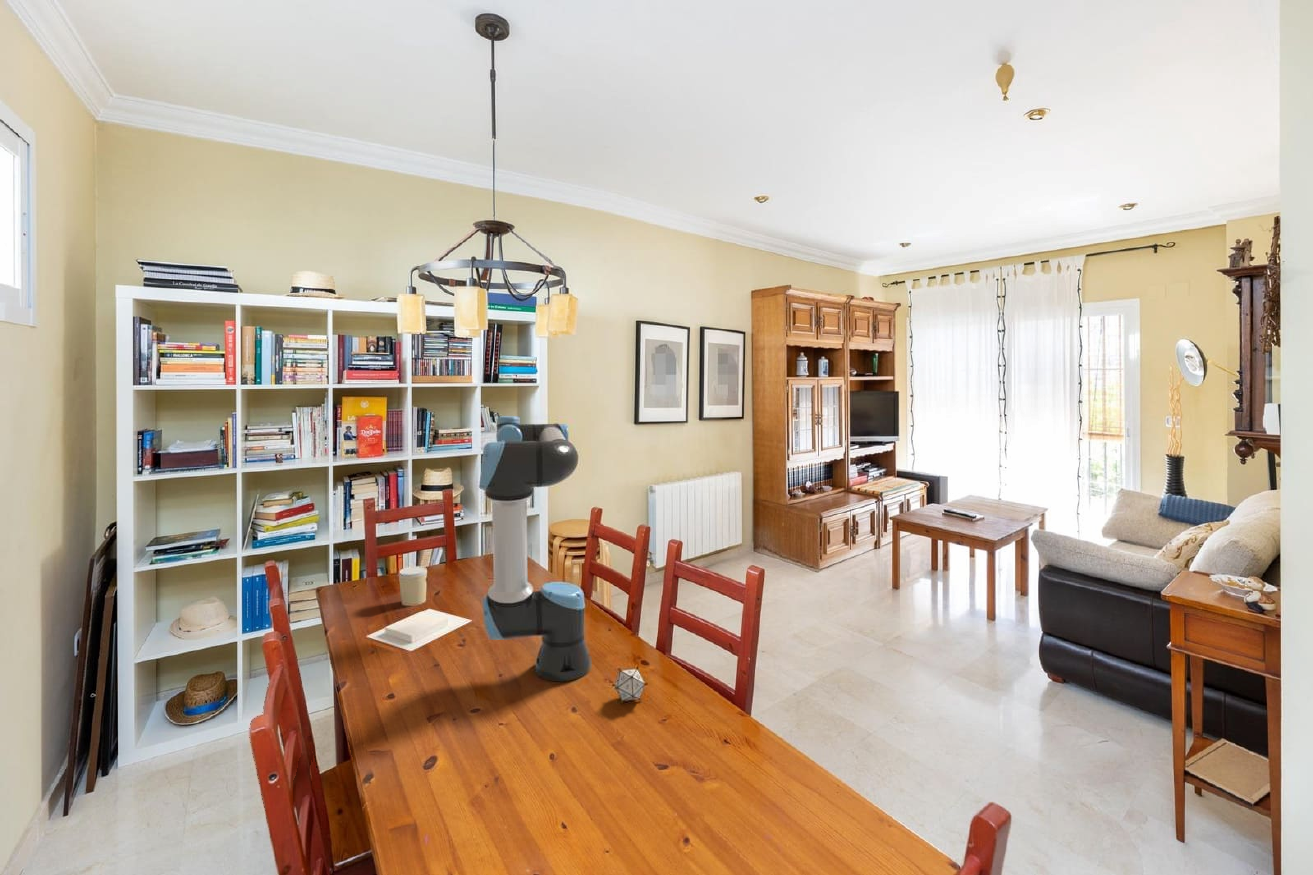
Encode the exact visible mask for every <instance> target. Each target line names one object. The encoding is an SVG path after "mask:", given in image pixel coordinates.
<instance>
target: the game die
mask: <svg viewBox="0 0 1313 875" xmlns="http://www.w3.org/2000/svg"><path fill="white" fill-rule="evenodd" d="M636 666H637V667H636V668H630V669H629V668H628V669H621V668H620V667H618V668H617V669H618V671H619V672H618V675H617V677H616V680H615V681H614V683H612V684H611V686H612V687H614V689H615V690H616V692H617V694H618V696H619V698H620V703H622V704H623V702H627V701H633V700H634V701H635V700H638V701H639V700H641V701H642V699H641V696H642V694H643V691H644V688H645V686H648V685H649V683H648V682H645V680H644V678H643V676H642V674H641V672H640V671H639V669H640V668H639V667H640V665H636ZM620 703H619V704H620Z"/></svg>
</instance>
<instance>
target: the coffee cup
mask: <svg viewBox="0 0 1313 875" xmlns="http://www.w3.org/2000/svg"><path fill="white" fill-rule="evenodd" d="M427 576H428V570H427V568H426V567H425V566H419V565H417V566H416V565H415V566H408V567H404V568H401V569H400V570H399V572H398V579H399V589H400V598H401V599H400V600H401V605H402V606H407V607H414V606H418V605H421V604H423V603H425V602H426V601H427V582H428V578H427Z"/></svg>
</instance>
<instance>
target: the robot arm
mask: <svg viewBox="0 0 1313 875" xmlns="http://www.w3.org/2000/svg"><path fill="white" fill-rule="evenodd" d="M495 425H496V437H495V438H496V441H493V442H491V441H490V442H487V443H486V444H485V445H484V446H483V449H482V457H481V467H480V477H479V485H478V489H479V490H482V491H485V492H484V495H485V497H486V498H487V500H489V501H490V502H491V511H492V512H491V515H492V516H491V517H492V520H491V522H492V549H493V550H492V553H493V554H492V556H493V557H492V558H493V584H492V585H491V586H490V587H489V588H488V590H487V594H486V595H484V596H483V598H482V613H483V621H484V623H483V624H484V626H485V631H486V635H487V637H488V638H489V639H490V640H492V641H495V640H496V641H498V640H504V641H507V640H510V639H521V638H530V637H539V636H541V645H540V646H539V650H538V653H537V657H536V659H535V672H536V674H537V676H538V677H540V678H542V679H544V680H546V681H550V682H558V683H559V682H570V681H575V680H576V679H580V678H581V677H584V676H585V675H586V674H588V673H589V672H590V670H591V668H592V660H591V659H592V658H591V657H592V656H591V654H590V653H589V648H588V646H587V642H586V640H585V639H586V638H585V608H586V603H585V594H584V591H583V590H582V588H581V587H579V586H578V585H575V584H573V583H570V582H564V581H550V582H546V583H544V584H542V585H541V588H540V590H537V591H535V590H534V585H533V584H531V583H530V582H529V581H528V514H527V513H528V500H529V499H530V498H531V497H532V496H533V494H534V488H542V487H543V488H544V487H551V486H553V485H557V484H559V483H562V482H563V481H565V480H566V479H568V478H569V477H570V476H571V475H572V474H573V473H574V472H575V470H576V468H578V467H577V466H578V464H579V454H578V451H577V449H576V447H575V446H574V444H573V443H572V442H570V441H569V426H568V425H567V424H565V423H558V422H556V423H536V424H535V423H523V424H521V418H520V417H519V416H518V415H501V416H498V417H497V418H496V424H495Z"/></svg>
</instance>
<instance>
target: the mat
mask: <svg viewBox="0 0 1313 875" xmlns="http://www.w3.org/2000/svg"><path fill="white" fill-rule="evenodd" d="M422 611H423V610H422ZM423 612H427V613H431V614H434V615H438V616H441V617H445V618H448V623H449V625H448V626H445V627H443V628H441V629H439V630H437V631H435V632H433V633H431V634H429V635H427V636H425V637H423V638H421V639H419V640H416V641H414V642H408V641H405V640H402V639H399V638H396V637H393V636H389V635H386V634H385V627H384V628H382V629H379V630H377V631H375V632H373V633H371V634H368V635H366V636H365V637H366V638H368V639H369V638H370V639H372V640H376V641H379V642H382V643H385V644H387V645H391V646H393V647H396V648H400V649H404V650H406V651H409V652H412V651H414V650H417V649H418V648H421V647H422V646H424V645H427V644H428V643H430V642H432V641H435V640H437V639H439V638H441V637H442V636H445V635H447V634H448V633H451V632H453V631H454V630H457V629H458V628H461V627H462V626H464V625H466V624H468V623H471V622H473V620H472V619H468V618H465V617H462V616H457V615H454V614H451V613H450V614H449V613H447V612H442V611H438V610H435V609H432V608H428V609H426V610H424V611H423Z"/></svg>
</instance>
